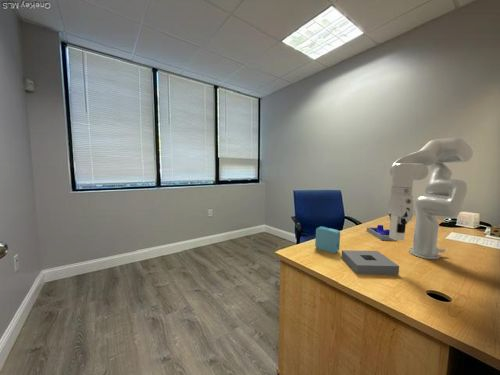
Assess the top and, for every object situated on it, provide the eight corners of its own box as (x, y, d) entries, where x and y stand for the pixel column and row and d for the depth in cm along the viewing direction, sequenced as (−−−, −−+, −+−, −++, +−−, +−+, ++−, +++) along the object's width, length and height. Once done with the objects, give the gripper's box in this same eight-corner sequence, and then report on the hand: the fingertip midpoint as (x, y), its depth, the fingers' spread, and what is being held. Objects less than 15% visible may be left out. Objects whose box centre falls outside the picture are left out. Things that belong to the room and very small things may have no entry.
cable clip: (374, 233, 148) (375, 224, 148) (381, 233, 148) (382, 225, 147) (383, 238, 137) (384, 229, 136) (390, 239, 136) (391, 230, 135)
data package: (339, 251, 115) (340, 230, 113) (335, 254, 112) (337, 232, 110) (318, 245, 123) (319, 225, 122) (314, 247, 120) (315, 227, 119)
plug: (397, 237, 98) (400, 212, 97) (403, 240, 94) (406, 214, 93) (389, 237, 98) (391, 211, 96) (394, 240, 94) (397, 213, 93)
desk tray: (380, 231, 151) (380, 227, 151) (396, 240, 133) (396, 235, 133) (366, 231, 151) (366, 227, 151) (381, 240, 134) (381, 235, 133)
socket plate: (377, 258, 107) (377, 250, 107) (398, 274, 91) (399, 266, 91) (341, 257, 107) (341, 250, 107) (356, 274, 91) (357, 265, 91)
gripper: (425, 193, 85) (420, 237, 87) (396, 189, 102) (392, 226, 104) (406, 193, 85) (402, 237, 87) (381, 188, 102) (377, 225, 104)
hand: (397, 230), depth 95 cm, fingers closed on plug, 4 cm apart
